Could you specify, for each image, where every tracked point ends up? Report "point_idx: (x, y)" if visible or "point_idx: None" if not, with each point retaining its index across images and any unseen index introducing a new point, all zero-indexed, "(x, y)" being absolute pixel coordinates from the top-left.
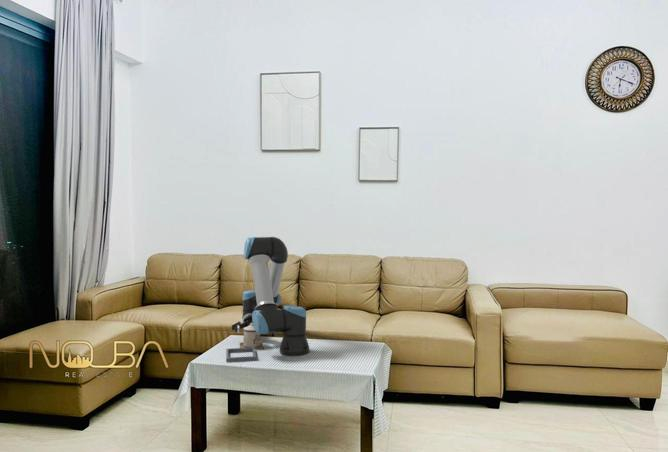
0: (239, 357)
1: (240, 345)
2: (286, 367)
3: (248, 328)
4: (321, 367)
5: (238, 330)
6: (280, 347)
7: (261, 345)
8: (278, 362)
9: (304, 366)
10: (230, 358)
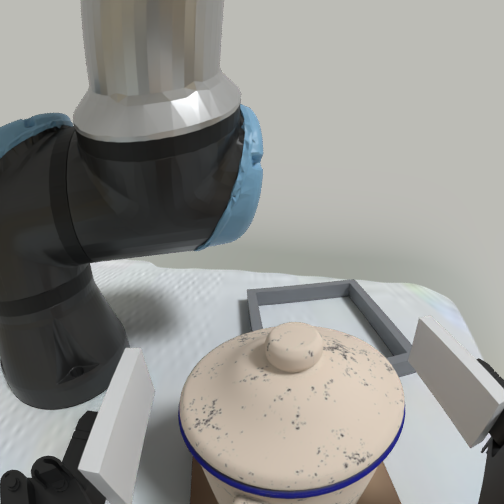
0: (309, 284)
1: (385, 479)
2: (166, 269)
3: (325, 333)
4: (92, 268)
5: (419, 337)
6: (120, 334)
7: (204, 479)
8: (174, 290)
9: (122, 272)
10: (340, 281)
